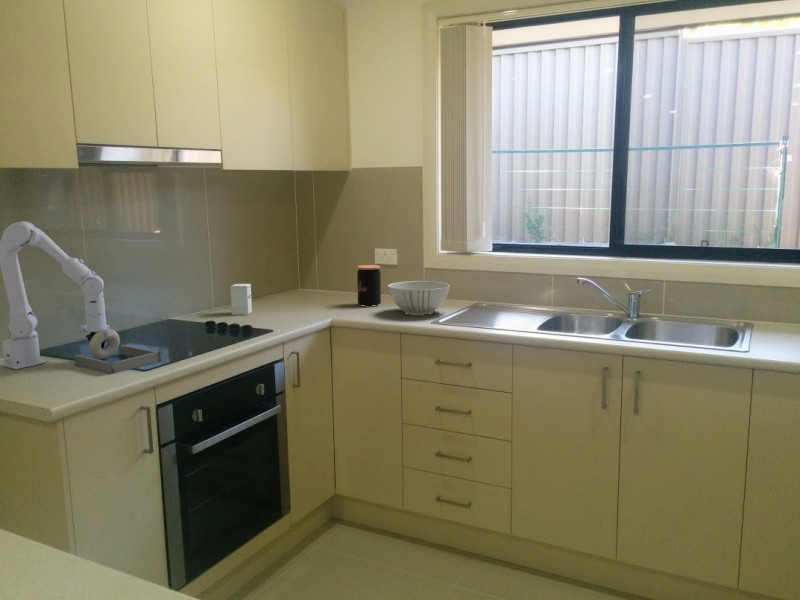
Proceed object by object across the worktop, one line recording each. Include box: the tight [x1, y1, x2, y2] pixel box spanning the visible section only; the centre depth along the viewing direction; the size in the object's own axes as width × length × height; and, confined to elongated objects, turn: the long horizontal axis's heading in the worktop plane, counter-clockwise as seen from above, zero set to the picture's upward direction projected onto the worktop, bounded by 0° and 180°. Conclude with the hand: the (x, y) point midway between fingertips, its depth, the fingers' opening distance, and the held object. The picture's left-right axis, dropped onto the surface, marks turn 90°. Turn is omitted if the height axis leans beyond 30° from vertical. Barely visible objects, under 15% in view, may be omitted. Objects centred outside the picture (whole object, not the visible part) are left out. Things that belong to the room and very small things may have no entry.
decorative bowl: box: [387, 280, 451, 316], centre depth 288 cm, size 27×27×12 cm
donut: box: [88, 329, 121, 360], centre depth 211 cm, size 10×4×10 cm, turn 146°
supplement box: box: [230, 283, 253, 316], centre depth 289 cm, size 7×7×13 cm
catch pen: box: [73, 344, 162, 374], centre depth 208 cm, size 17×19×3 cm
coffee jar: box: [356, 264, 382, 306], centre depth 308 cm, size 11×11×18 cm
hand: (99, 355), depth 214 cm, fingers closed
